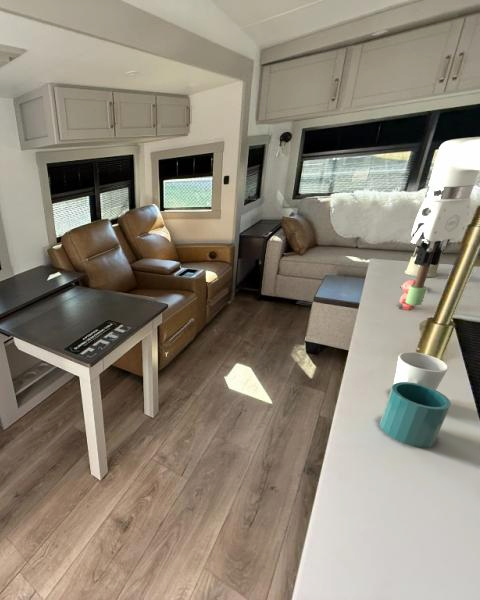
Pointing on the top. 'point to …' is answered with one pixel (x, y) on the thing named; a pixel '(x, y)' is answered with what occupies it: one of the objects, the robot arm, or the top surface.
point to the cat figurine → (404, 296)
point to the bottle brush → (419, 285)
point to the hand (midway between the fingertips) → (425, 264)
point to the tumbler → (414, 414)
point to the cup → (420, 369)
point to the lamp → (414, 268)
